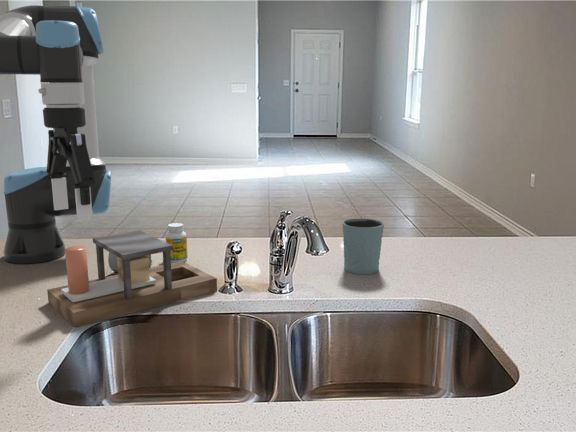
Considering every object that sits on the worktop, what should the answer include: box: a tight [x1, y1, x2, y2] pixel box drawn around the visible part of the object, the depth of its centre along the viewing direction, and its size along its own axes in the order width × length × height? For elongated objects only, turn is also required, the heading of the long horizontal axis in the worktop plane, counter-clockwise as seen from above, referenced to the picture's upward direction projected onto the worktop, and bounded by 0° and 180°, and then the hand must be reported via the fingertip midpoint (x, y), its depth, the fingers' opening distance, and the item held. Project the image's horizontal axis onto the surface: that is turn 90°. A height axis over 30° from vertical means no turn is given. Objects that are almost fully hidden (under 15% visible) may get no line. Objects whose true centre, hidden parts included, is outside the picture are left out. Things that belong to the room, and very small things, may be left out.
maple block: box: [117, 256, 150, 284], centre depth 128 cm, size 5×5×5 cm
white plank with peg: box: [61, 245, 156, 302], centre depth 124 cm, size 7×18×10 cm, turn 129°
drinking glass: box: [342, 217, 385, 275], centre depth 147 cm, size 10×10×12 cm
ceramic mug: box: [107, 251, 153, 273], centre depth 146 cm, size 11×8×8 cm
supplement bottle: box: [165, 222, 188, 263], centre depth 154 cm, size 5×5×10 cm
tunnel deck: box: [46, 230, 218, 328], centre depth 128 cm, size 16×32×12 cm, turn 129°
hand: (72, 215), depth 117 cm, fingers open, 13 cm apart
